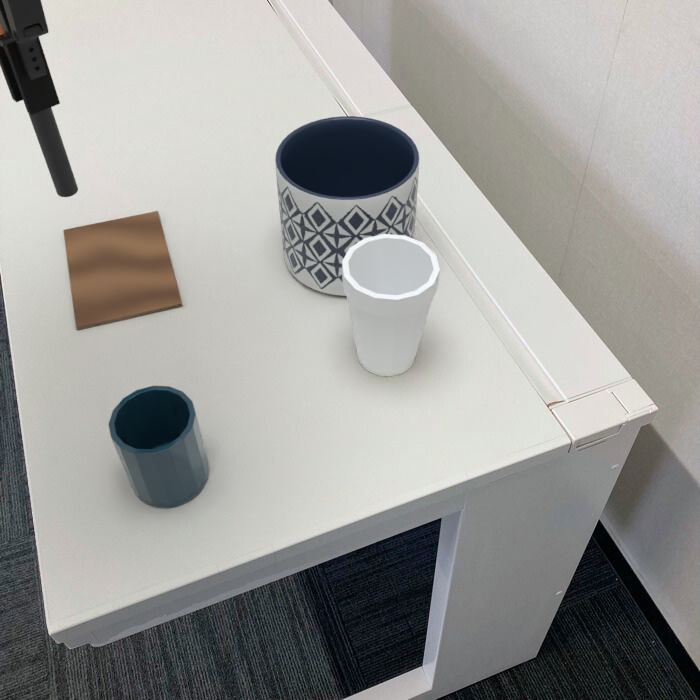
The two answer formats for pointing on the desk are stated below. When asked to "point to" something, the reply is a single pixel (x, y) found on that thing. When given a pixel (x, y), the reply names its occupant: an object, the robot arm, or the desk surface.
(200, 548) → the desk surface
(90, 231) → the brown wooden board
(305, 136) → the planter
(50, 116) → the marker
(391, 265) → the foam cup
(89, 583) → the desk surface
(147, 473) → the pen cup
